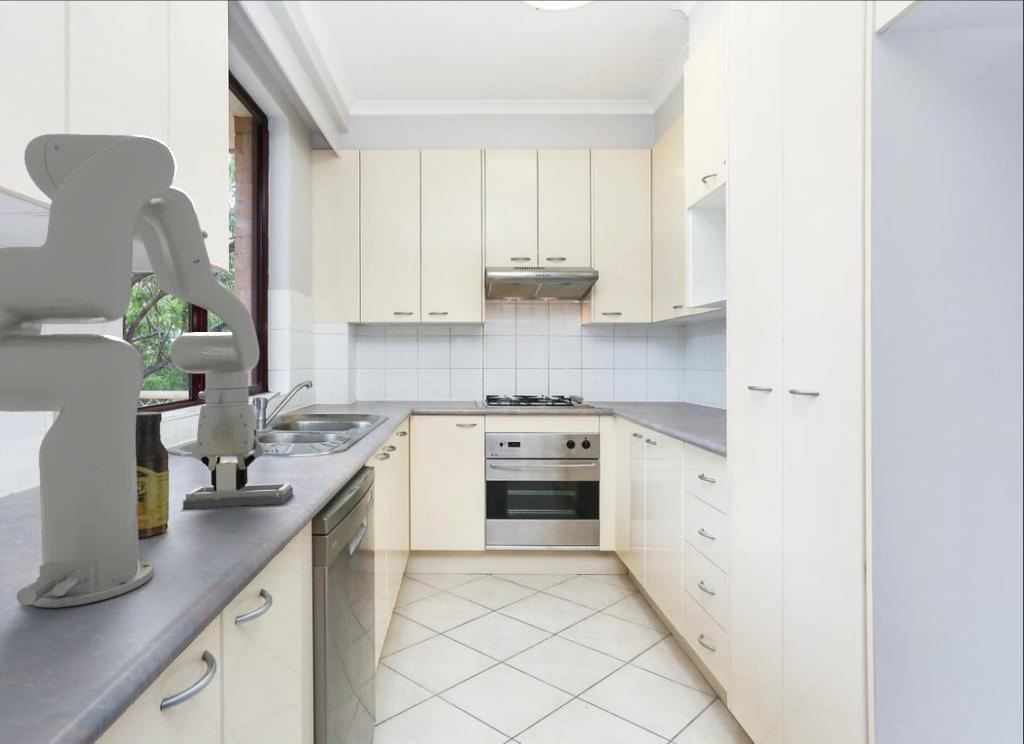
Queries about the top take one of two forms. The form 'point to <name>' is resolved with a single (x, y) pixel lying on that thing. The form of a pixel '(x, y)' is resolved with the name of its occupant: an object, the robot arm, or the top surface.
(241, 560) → the top surface
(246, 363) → the robot arm
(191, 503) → the grey shallow tray
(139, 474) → the sauce bottle
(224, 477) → the fader cap
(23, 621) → the top surface
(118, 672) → the top surface
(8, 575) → the top surface
